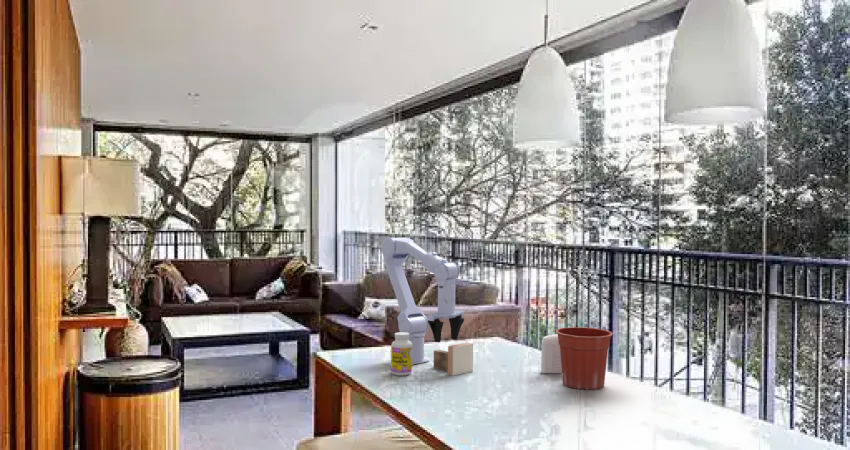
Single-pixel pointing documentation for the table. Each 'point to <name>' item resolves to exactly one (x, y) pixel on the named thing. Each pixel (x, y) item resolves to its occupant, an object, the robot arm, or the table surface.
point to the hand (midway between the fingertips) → (445, 340)
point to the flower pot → (583, 356)
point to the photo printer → (551, 355)
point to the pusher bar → (441, 359)
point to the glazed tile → (460, 358)
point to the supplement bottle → (401, 354)
